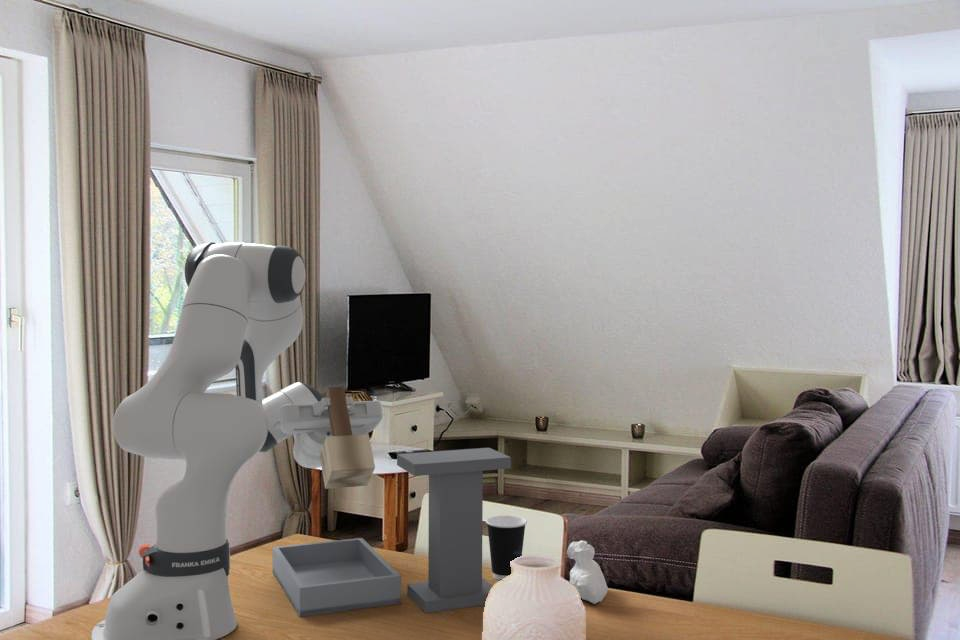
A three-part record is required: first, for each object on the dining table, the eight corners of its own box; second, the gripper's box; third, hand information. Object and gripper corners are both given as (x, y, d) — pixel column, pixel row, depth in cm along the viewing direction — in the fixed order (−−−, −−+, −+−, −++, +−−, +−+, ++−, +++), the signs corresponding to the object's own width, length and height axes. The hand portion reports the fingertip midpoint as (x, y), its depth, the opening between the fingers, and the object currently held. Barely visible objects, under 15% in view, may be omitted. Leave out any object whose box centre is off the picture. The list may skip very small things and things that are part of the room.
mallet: (325, 488, 175) (331, 470, 170) (311, 401, 185) (317, 382, 180) (367, 485, 178) (375, 467, 173) (351, 400, 188) (358, 380, 183)
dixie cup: (529, 582, 180) (529, 525, 179) (488, 583, 179) (488, 526, 178) (523, 569, 188) (523, 514, 187) (483, 570, 187) (483, 515, 186)
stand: (414, 614, 163) (414, 464, 161) (396, 596, 172) (397, 454, 171) (509, 601, 169) (510, 457, 168) (488, 584, 179) (489, 447, 177)
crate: (299, 617, 161) (299, 588, 161) (272, 572, 185) (272, 547, 185) (400, 603, 168) (400, 575, 168) (362, 562, 192) (362, 537, 192)
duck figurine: (589, 598, 178) (553, 548, 179) (621, 575, 176) (585, 526, 177) (583, 620, 166) (544, 567, 167) (617, 597, 165) (578, 544, 166)
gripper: (271, 415, 190) (282, 387, 179) (370, 410, 198) (386, 383, 186) (274, 445, 187) (285, 418, 176) (374, 439, 195) (391, 413, 184)
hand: (338, 400), depth 181 cm, fingers closed on mallet, 3 cm apart
